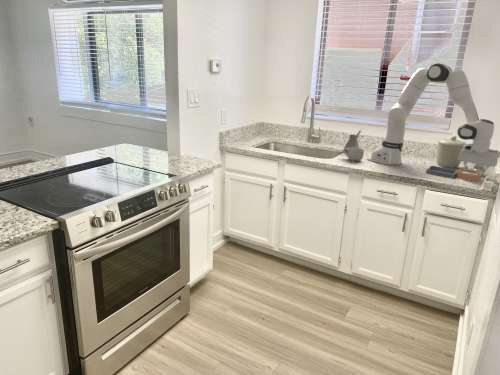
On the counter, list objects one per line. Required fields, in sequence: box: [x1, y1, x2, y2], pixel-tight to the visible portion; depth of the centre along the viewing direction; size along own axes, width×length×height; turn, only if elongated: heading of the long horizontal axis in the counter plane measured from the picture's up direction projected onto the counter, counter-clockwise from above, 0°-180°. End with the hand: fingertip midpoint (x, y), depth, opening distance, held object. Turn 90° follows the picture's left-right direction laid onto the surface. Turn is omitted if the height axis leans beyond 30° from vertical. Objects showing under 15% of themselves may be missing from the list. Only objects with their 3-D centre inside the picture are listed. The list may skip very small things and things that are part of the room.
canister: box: [436, 135, 467, 169], centre depth 252 cm, size 18×18×21 cm
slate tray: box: [425, 165, 459, 179], centre depth 235 cm, size 16×14×3 cm
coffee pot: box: [343, 130, 363, 154], centre depth 284 cm, size 21×12×15 cm, turn 146°
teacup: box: [342, 147, 365, 162], centre depth 260 cm, size 14×11×8 cm
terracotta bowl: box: [456, 169, 482, 182], centre depth 227 cm, size 12×12×4 cm
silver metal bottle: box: [472, 163, 486, 177], centre depth 233 cm, size 6×7×20 cm
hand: (474, 170), depth 225 cm, fingers open, 8 cm apart
